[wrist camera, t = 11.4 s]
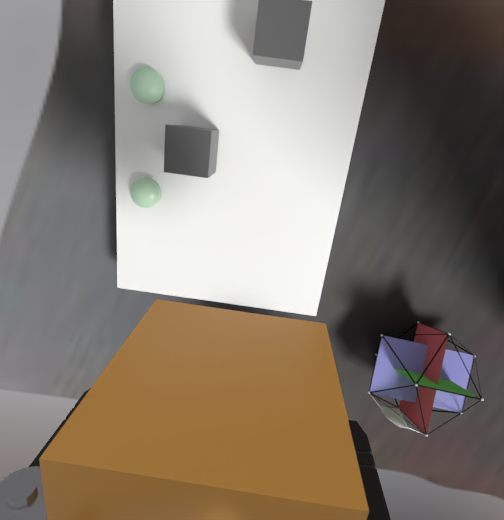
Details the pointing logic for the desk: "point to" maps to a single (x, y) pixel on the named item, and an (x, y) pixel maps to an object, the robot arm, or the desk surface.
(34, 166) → the desk surface
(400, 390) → the geometric puzzle
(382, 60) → the desk surface
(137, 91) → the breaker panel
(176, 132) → the block
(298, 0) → the block
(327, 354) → the orange cube
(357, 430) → the robot arm
